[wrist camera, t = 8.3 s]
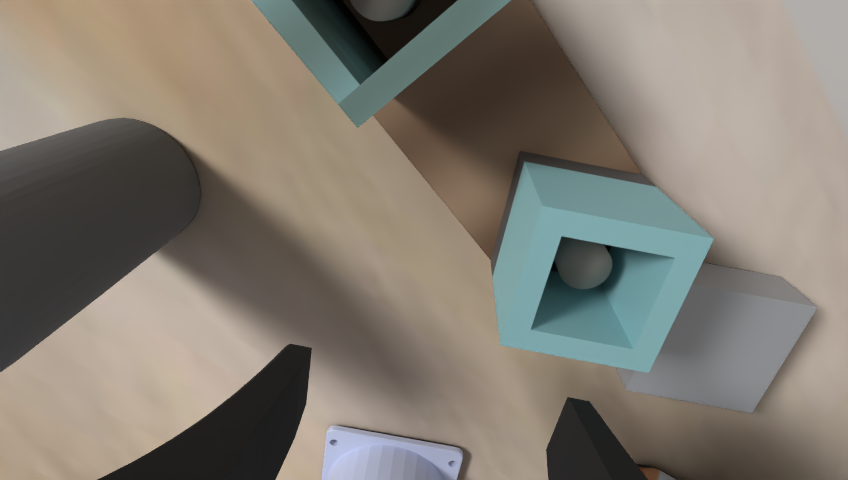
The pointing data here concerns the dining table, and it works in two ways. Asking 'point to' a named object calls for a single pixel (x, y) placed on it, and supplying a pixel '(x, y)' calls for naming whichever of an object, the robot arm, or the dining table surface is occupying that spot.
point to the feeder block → (726, 340)
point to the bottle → (83, 220)
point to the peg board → (459, 99)
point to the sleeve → (627, 245)
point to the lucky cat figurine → (654, 473)
